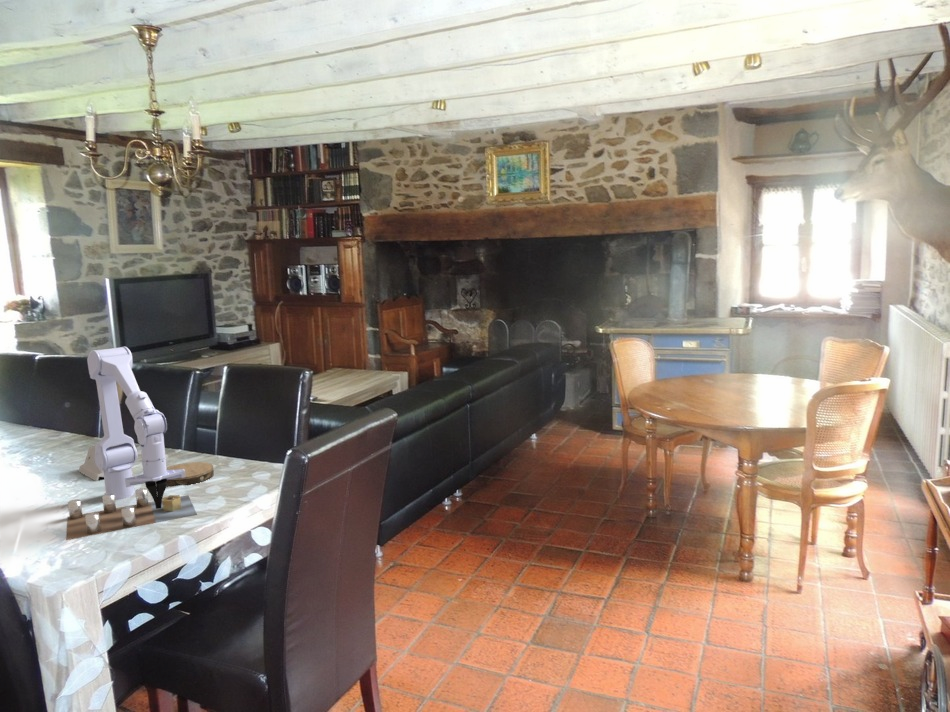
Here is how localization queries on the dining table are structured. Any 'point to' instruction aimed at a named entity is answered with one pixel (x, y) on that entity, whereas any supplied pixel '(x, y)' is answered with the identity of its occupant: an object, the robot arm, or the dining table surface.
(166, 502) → the brass nut
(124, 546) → the dining table surface
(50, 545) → the dining table surface
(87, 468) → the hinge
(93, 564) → the dining table surface
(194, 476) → the brown flat round disc
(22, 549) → the dining table surface
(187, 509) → the spacer board
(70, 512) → the steel spacers
